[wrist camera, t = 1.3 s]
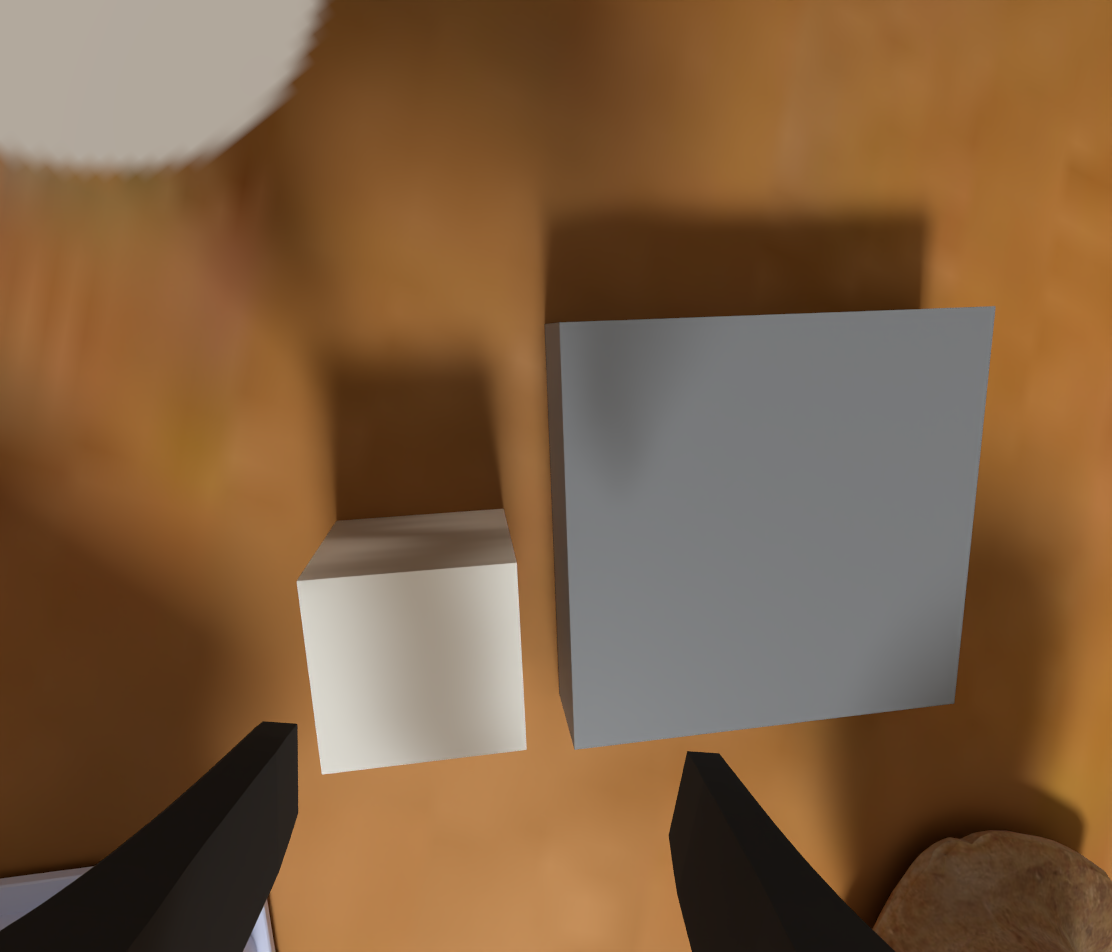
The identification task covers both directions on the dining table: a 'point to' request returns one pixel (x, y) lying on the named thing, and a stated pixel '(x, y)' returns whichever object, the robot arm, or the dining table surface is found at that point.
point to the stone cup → (999, 898)
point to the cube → (414, 640)
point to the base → (761, 515)
